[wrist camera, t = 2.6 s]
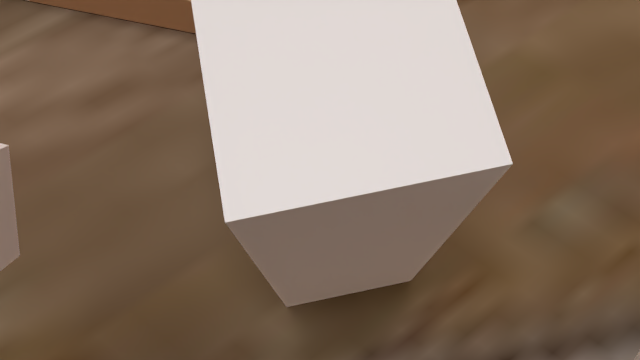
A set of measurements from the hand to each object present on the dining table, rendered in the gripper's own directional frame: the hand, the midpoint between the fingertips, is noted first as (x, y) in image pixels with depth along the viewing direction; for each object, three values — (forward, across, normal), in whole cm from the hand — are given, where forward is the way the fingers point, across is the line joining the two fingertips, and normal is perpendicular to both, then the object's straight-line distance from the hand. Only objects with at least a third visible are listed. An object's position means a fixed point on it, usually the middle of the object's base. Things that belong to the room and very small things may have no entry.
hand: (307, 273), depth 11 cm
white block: (+11, -1, -4) cm, 12 cm away
